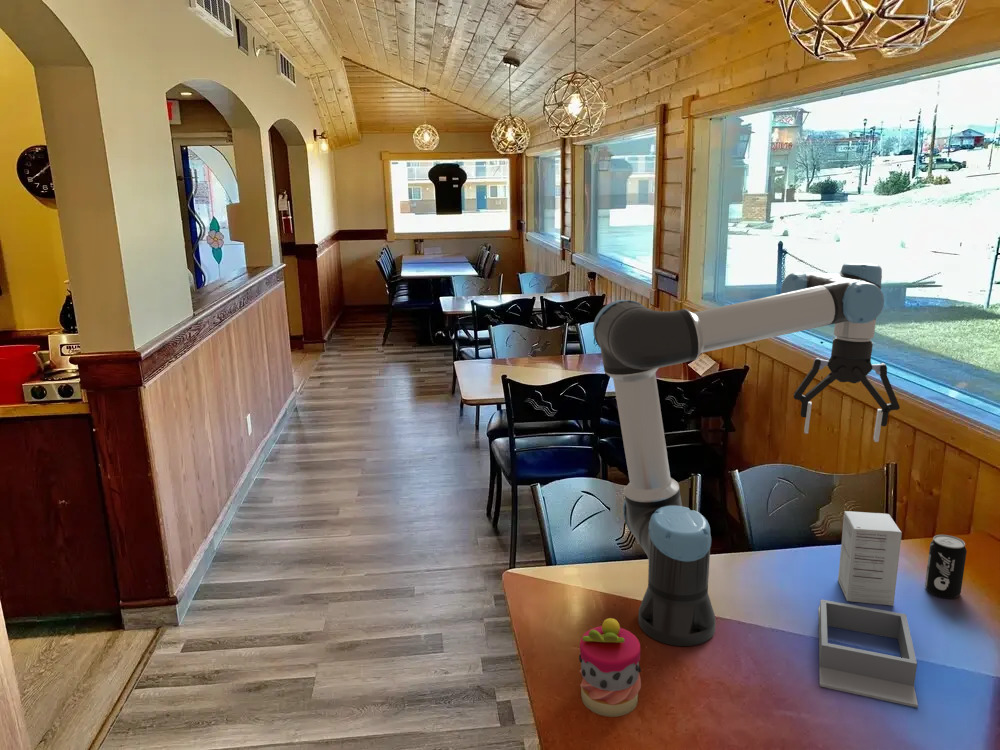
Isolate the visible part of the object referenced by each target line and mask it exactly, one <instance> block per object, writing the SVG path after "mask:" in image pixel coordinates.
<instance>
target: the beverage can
mask: <svg viewBox="0 0 1000 750" xmlns="http://www.w3.org/2000/svg"><path fill="white" fill-rule="evenodd" d="M967 551H968V550H967V548H966V543H965V541H964V540H963V539H961V538H959V537H957V536H953V535H950V534H949V535H948V534H937V535H934V536H933V538H932V541H931V542H930V544H929V551H928V557H927V558H928V559H927V566H926V574H925V582H924V586H925V588H926V589H927V591H928V592H929V593H930V594H932V595H934V596H935V597H938V598H941V599H942V598H943V599H955V598H957V597H958V596H960V595H961V594H962V593H961V592H962V589H963V588H962V586H963V580H964V579H963V578H964V572H965V565H966V558H967Z"/></svg>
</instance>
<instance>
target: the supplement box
mask: <svg viewBox="0 0 1000 750" xmlns="http://www.w3.org/2000/svg"><path fill="white" fill-rule="evenodd" d="M842 522H843V523H842V532H841V533H842V535H841V546H840V555H839V564H838V565H839V567H838V575H837V580H838V581H837V582H838V584H839V586H840V588H841V590H842V593H843V594H844V598H845V600H846V602H853V603H854V602H855V603H862V604H863V603H864V604H874V605H883V606H890V607H891V606H893V607H894V604H895V596H896V586H897V580H898V579H897V578H898V577H897V576H898V571H899V569H898V567H899V561H900V559H899V558H900V554H901V553H900V551H901V544H902V533H903V532H902V531H901V530H900V528H899V526H898V525H897V524H896V522H895V521H894V519H893V518H892V516H891V515H890V514H889V513H881V512H868V511H867V512H864V511H848V510H847V511H846V510H845V511H843V521H842Z"/></svg>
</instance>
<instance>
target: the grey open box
mask: <svg viewBox="0 0 1000 750" xmlns="http://www.w3.org/2000/svg"><path fill="white" fill-rule="evenodd" d="M817 609H818V654H819V655H818V658H819V660H818V661H819V664H818V665H819V666H818V667H819V668H818V669H819V687H822V688H825V689H830V690H835V691H840V692H845V693H850V694H854V695H857V696H858V695H859V696H863V697H868V698H872V699H876V700H881V701H885V702H891V703H895V704H900V705H904V706H908V707H912V708H916V709H917V708H918V706H919V703H918V698H917V694H916V690H915V683H916V677H917V676H916V675H917V666H918V662H917V658H916V657H917V656H916V654H915V653H916V652H915V648H914V643H913V639H912V636H911V635H912V634H911V632H910V626H909V621H908V618H907V614H906V613H902V612H901V613H900V612H895V611H890V610H885V609H878V608H872V607H867V606H866V607H865V606H861V605H856V604H850V603H843V602H839V601H832V600H828V599H827V600H826V599H820V604H819V605H818V608H817ZM828 627H831V628H832V627H833V628H838V629H842V630H847V631H848V630H849V631H854V632H858V633H865V634H871V635H874V636H879V637H880V636H881V637H886V638H890V639H896V640H897V641H898V646H899V652H901V653H900V656H895V655H891V654H886V653H885V654H884V653H880V652H875V651H869V650H864V649H859V648H856V647H849V646H846V645H845V646H844V645H840V644H834V643H830V642H828V640H829V639H828ZM901 657H902V658H901Z"/></svg>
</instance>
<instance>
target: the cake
mask: <svg viewBox="0 0 1000 750" xmlns="http://www.w3.org/2000/svg"><path fill="white" fill-rule="evenodd" d="M641 650H642V649H641V643H640V641H639V639H638V638H637V636H636V635H635V634H634V633H632V632H631V631H630V630H628V629H625V628H622V627H621V626H620V623H619V622H618V620H617V619H615V618H612V617H609V618H606V619H604V620H603V621H602V625H601V626H596V627H595V626H594V627H593V628H589V630H587V631H585V632H584V634H583V635H582V636H581V637H580V640H579V651H580V654H579V655H578V660H579V661H578V662H579V663H580V669H579V671H578V672H579V673H580V675H581V677H582V679H581V683H580V685H579V686H580V697H581V701H582V703H583V705H584V706H585V708H587V709H588V710H590V711H591V713H594V714H597V715H599V716H602V717H609V718H614V717H615V718H616V717H622V716H625V715H628V714H630V713H631V712H633V711H634V710H635V709H636V707H637V705H638V700H639V693H640V690H641V688H642V678H641V676H640V673H641V672H642V668H641V666H640V663H639V662H641Z"/></svg>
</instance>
